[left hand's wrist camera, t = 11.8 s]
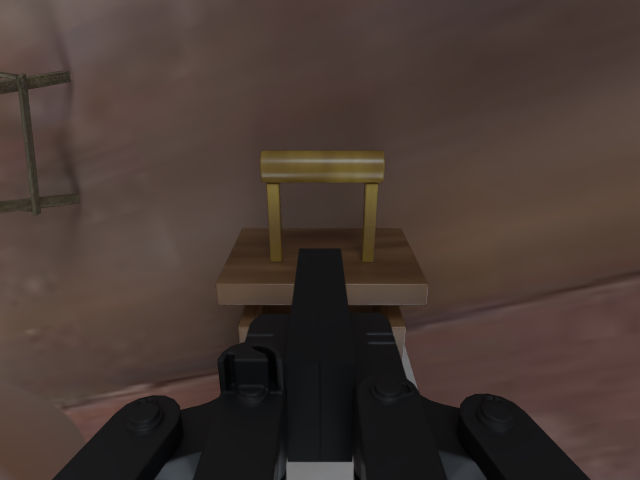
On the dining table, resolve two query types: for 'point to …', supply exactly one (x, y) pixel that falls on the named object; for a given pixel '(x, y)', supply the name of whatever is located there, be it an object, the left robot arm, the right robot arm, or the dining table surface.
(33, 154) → the miniature windmill
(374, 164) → the drawer
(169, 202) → the dining table surface
